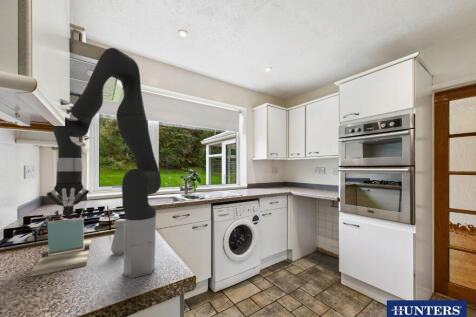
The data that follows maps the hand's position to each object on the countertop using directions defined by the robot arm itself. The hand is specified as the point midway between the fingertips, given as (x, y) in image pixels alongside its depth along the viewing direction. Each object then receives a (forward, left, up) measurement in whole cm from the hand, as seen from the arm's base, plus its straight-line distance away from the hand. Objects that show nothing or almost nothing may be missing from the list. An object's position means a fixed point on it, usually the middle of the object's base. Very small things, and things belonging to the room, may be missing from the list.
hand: (68, 215), depth 78 cm
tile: (-1, 0, -7) cm, 7 cm away
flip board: (+1, 0, -15) cm, 15 cm away
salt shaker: (-7, -17, -15) cm, 24 cm away
